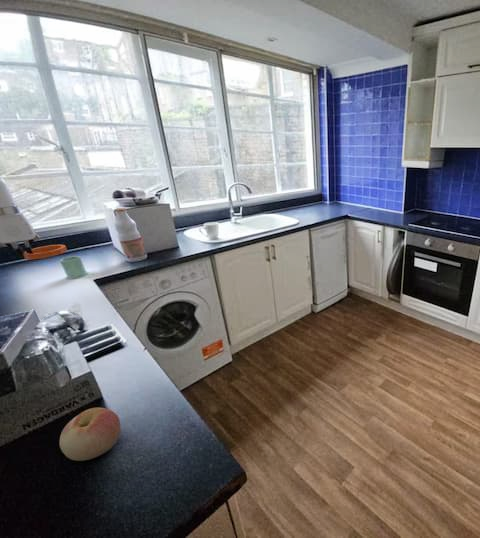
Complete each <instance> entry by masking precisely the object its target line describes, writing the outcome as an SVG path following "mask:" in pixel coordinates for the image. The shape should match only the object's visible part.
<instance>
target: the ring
mask: <svg viewBox="0 0 480 538" xmlns="http://www.w3.org/2000/svg"><path fill="white" fill-rule="evenodd" d="M31 249H32V251H33V253H34V254H30V253H27V252H26V250H25V251H23V252H24V253H23V256H24V257H25V258H24V259H25V260H26V259H27V260H39V259H45V258H50V257H51V258H52V257H55V256H58V255H62V254H64V253H67V251H68V249H67V246H66V245H65V244H50V245H44V246H38V247H35V248H31Z"/></svg>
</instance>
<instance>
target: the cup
mask: <svg viewBox="0 0 480 538" xmlns="http://www.w3.org/2000/svg"><path fill="white" fill-rule="evenodd" d="M81 258H82V257H81V256H79V255H73V256H67V257H64V258H61V259H60V260H59V262H60V264H61V266H62V268H63V271H64V273H65V275H66V278H67V279H69V280H71V279H73V280H74V279H78V278H81V277H84V276H86V275H88V272H87V270H86V268H85V266H84V263H83V261H82V259H81Z"/></svg>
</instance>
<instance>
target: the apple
mask: <svg viewBox="0 0 480 538" xmlns="http://www.w3.org/2000/svg"><path fill="white" fill-rule="evenodd" d="M120 433H121V420H120V418H119V416H118V415H117V413H115V412H114V411H113V410H111V409H109V408H105V407H100V406H99V407H92V408H88V409H85V410H84V411H81V412H80V413H79V414H78V415H77V414H76V416H75V417H73V418H72V419H71V420H70V421H68V423H66V425H65V426H64V428H62V431H61V434H60V436H59V448H60V450H61V452H62V453H63V454H64V456H65V457H66V458H68V459H69V460H72V461H78V462H84V461H90V460H92V459H95V458H97V457H98V458H99V457H100V456H102V455H104V454H105V453H107V452H108V451H110V450H111V449H112V448H113V447H114V446H115V444H116V443H117V441H118V439H119V437H120Z"/></svg>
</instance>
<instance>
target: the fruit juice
mask: <svg viewBox="0 0 480 538" xmlns="http://www.w3.org/2000/svg"><path fill="white" fill-rule="evenodd" d="M113 212H114V213H115V222H114V229H115V230H116V232H117V238H118V241H119V243H120V247H121V249H122V251H123V254H124V257H125V260H126V261H127V262H128V263H136V262H137V263H138V262H141V261H144V260H147V258H148V254H147V252H146V249H145V245H144V243H143V239H142V236H141V234H140V232H139V230H138V229H137V228H138V227H137V226H138V225H137V223H136V221H135V220H134V219H132V218H131V216H129V214H128V213H127V208H126V207H119V208H114V209H113Z"/></svg>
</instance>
